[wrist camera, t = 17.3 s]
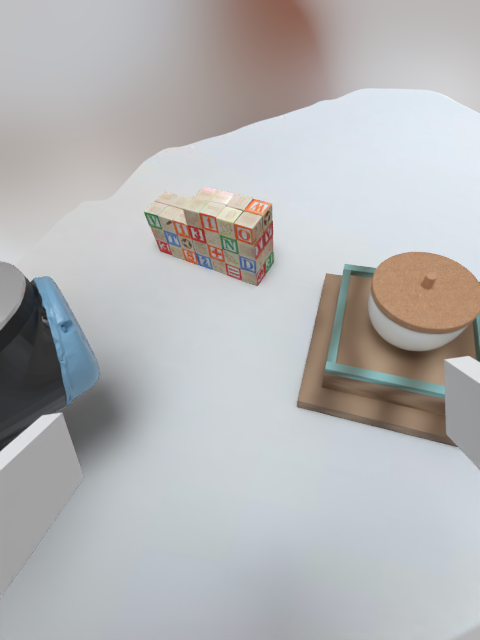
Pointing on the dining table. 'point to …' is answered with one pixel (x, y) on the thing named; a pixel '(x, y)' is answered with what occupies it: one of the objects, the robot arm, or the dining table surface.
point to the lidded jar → (422, 300)
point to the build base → (353, 402)
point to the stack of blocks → (216, 231)
